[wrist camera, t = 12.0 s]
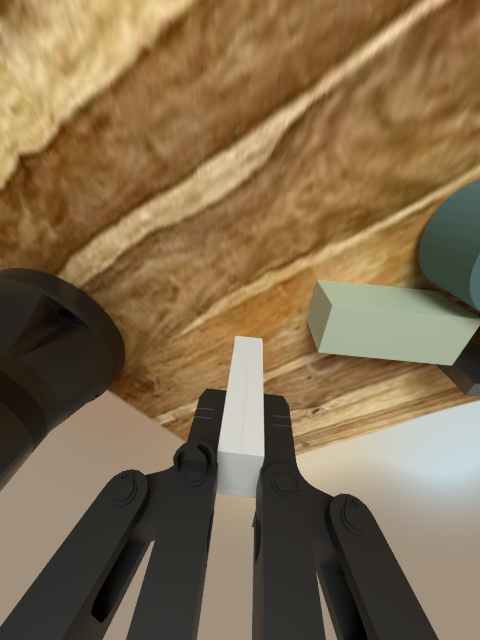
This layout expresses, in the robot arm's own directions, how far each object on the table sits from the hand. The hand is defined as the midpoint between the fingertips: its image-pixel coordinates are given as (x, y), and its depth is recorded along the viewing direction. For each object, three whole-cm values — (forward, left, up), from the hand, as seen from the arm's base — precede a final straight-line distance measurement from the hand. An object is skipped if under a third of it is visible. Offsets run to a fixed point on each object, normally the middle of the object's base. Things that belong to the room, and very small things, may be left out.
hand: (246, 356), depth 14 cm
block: (+10, 0, -9) cm, 14 cm away
